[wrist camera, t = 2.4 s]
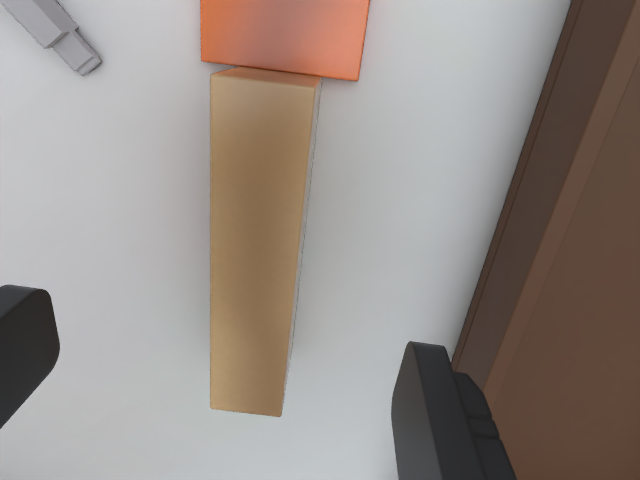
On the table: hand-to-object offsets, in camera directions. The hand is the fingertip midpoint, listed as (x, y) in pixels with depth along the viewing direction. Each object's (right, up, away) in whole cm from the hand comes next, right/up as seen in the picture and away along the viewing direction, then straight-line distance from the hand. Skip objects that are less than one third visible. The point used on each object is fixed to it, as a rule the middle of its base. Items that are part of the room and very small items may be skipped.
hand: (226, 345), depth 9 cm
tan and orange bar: (0, +6, +8) cm, 11 cm away
